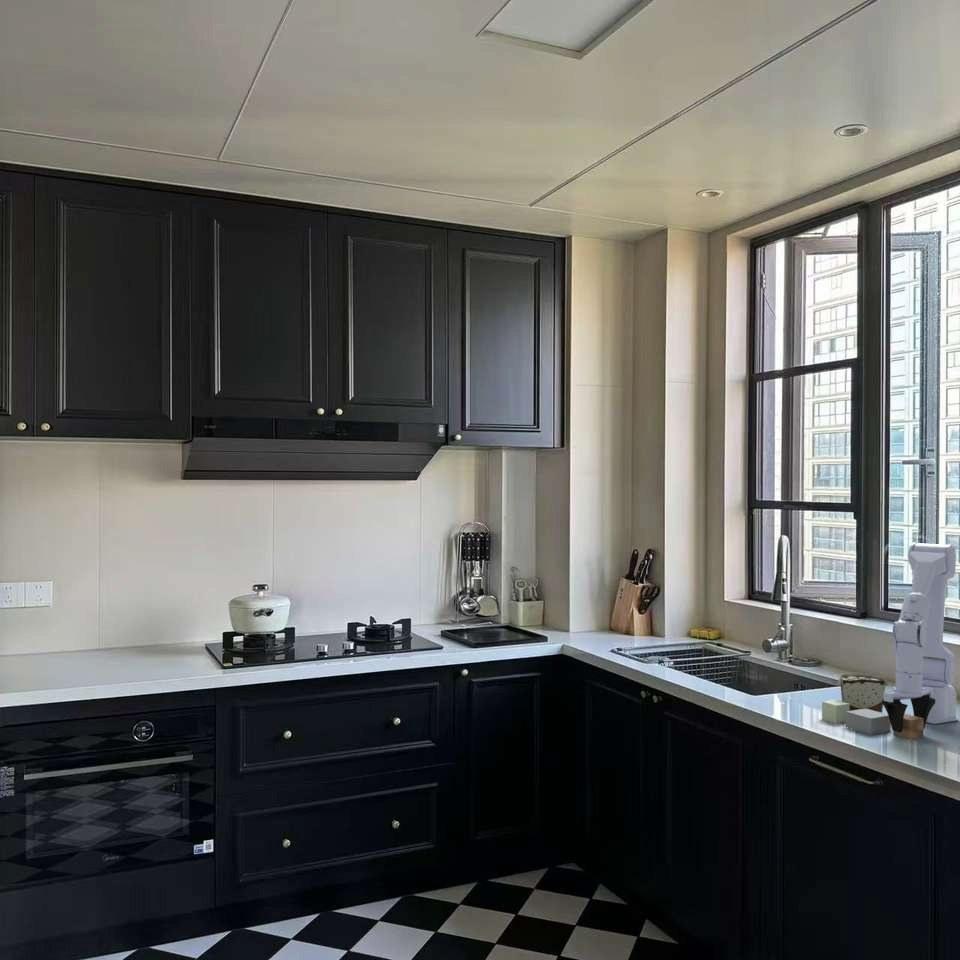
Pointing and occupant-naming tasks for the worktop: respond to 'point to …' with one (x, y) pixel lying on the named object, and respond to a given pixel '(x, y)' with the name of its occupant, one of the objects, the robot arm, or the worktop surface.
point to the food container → (862, 690)
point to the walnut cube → (911, 727)
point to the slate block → (868, 721)
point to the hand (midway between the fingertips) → (908, 729)
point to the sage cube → (835, 710)
